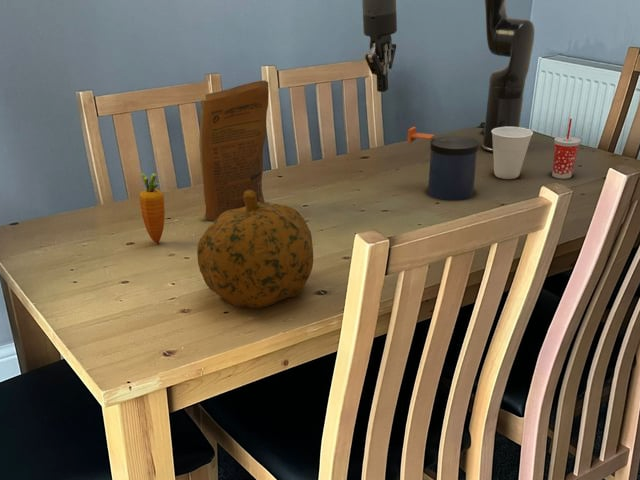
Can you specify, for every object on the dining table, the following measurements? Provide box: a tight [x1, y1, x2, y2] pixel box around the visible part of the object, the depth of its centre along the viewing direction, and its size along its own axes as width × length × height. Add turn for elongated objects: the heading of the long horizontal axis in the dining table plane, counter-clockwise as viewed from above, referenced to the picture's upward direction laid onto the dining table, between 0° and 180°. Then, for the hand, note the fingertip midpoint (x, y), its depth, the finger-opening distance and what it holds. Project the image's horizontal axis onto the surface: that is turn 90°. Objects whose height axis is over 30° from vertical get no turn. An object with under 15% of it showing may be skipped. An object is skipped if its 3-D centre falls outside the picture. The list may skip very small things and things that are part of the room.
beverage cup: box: [551, 118, 581, 180], centre depth 195 cm, size 6×6×14 cm
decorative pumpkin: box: [196, 190, 314, 309], centre depth 139 cm, size 20×21×20 cm
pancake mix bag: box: [198, 79, 270, 221], centre depth 173 cm, size 7×19×28 cm, turn 127°
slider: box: [406, 126, 436, 144], centre depth 186 cm, size 6×3×3 cm, turn 59°
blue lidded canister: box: [427, 135, 480, 201], centre depth 186 cm, size 11×11×12 cm
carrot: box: [139, 173, 166, 245], centre depth 162 cm, size 5×5×15 cm
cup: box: [491, 126, 534, 180], centre depth 196 cm, size 10×10×11 cm
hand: (382, 90), depth 187 cm, fingers closed
